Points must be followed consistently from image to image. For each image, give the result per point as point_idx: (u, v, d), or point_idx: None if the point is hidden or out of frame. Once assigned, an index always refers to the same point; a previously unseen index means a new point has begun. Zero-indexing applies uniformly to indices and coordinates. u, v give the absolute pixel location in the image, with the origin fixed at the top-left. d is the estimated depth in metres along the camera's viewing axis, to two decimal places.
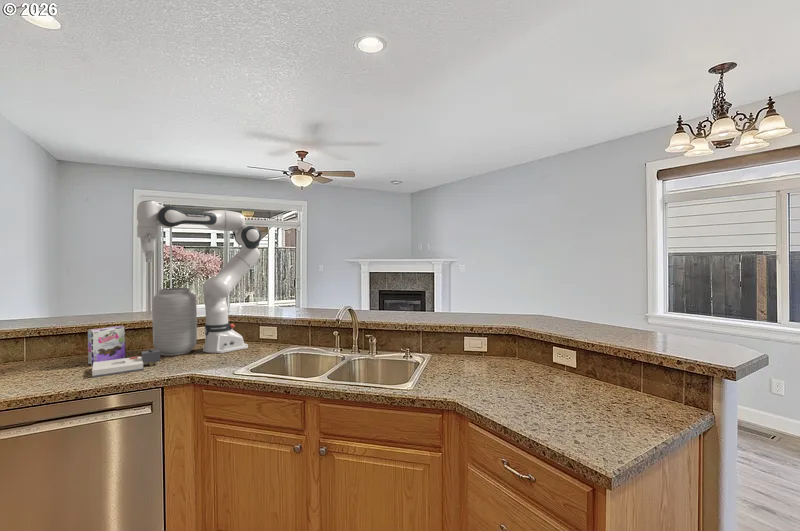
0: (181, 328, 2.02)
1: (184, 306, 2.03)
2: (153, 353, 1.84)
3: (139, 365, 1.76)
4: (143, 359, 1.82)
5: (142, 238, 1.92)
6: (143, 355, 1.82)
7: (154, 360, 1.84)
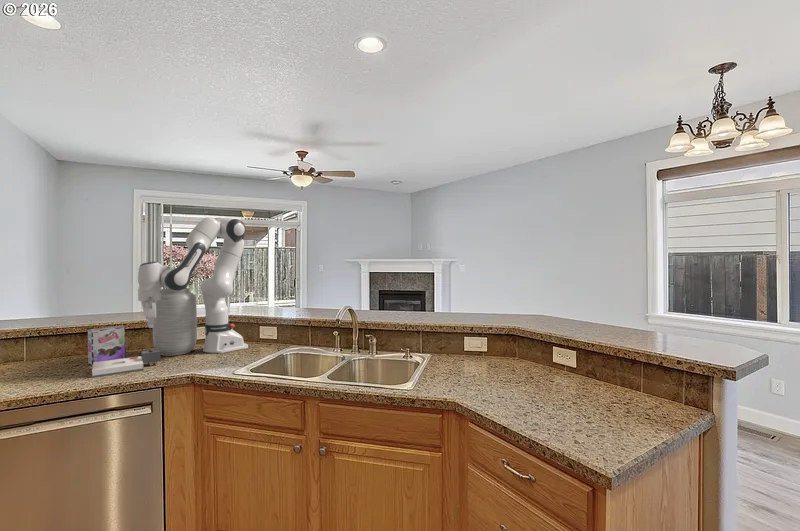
0: (181, 328, 2.02)
1: (184, 306, 2.03)
2: (153, 353, 1.84)
3: (139, 365, 1.76)
4: (143, 359, 1.82)
5: (143, 302, 1.82)
6: (143, 355, 1.82)
7: (154, 360, 1.84)
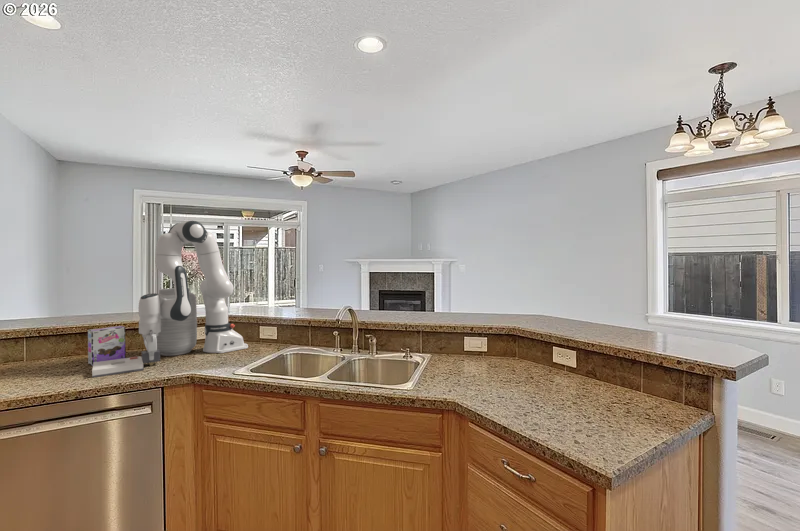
0: (181, 328, 2.02)
1: None
2: None
3: (139, 365, 1.76)
4: (143, 359, 1.82)
5: (144, 335, 1.82)
6: (143, 355, 1.82)
7: (154, 360, 1.84)
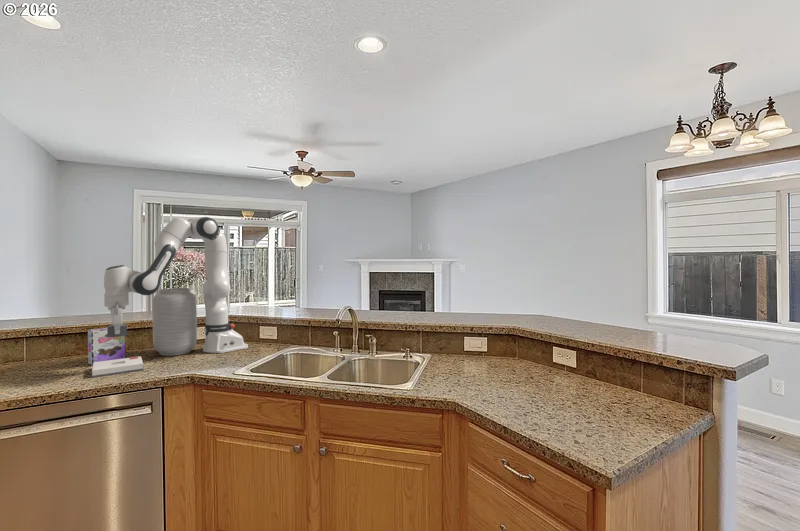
0: (181, 328, 2.02)
1: (184, 306, 2.03)
2: None
3: (139, 365, 1.76)
4: (108, 333, 1.74)
5: (110, 308, 1.75)
6: (108, 329, 1.74)
7: (120, 334, 1.76)
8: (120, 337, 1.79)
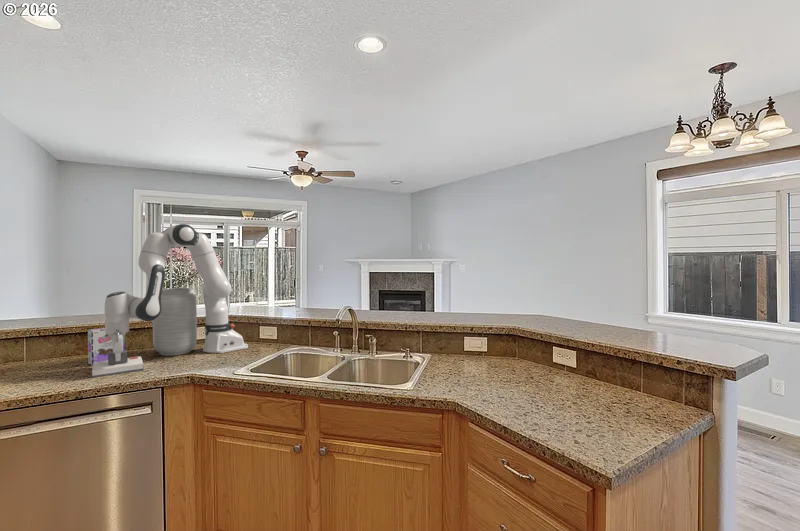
0: (181, 328, 2.02)
1: (184, 306, 2.03)
2: None
3: (139, 365, 1.76)
4: (109, 360, 1.74)
5: (110, 335, 1.75)
6: (109, 356, 1.74)
7: (121, 361, 1.77)
8: (121, 363, 1.79)
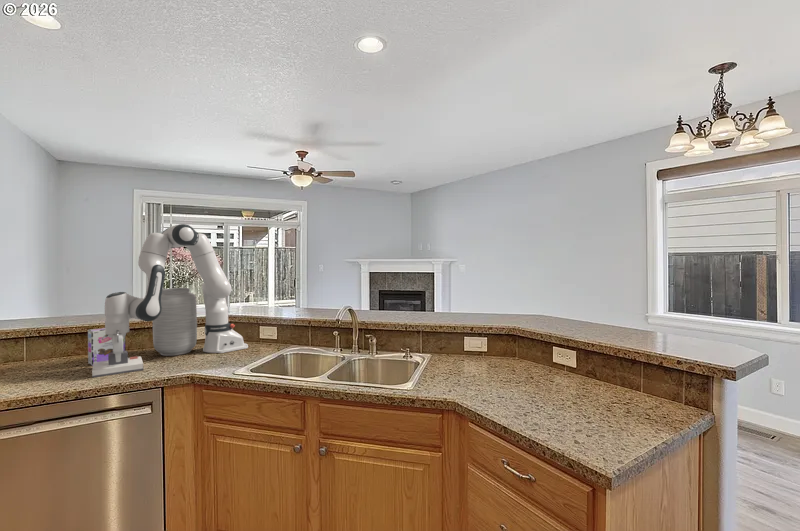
0: (181, 328, 2.02)
1: (184, 306, 2.03)
2: None
3: (139, 365, 1.76)
4: (109, 361, 1.74)
5: (110, 335, 1.75)
6: (109, 357, 1.74)
7: (121, 362, 1.77)
8: None
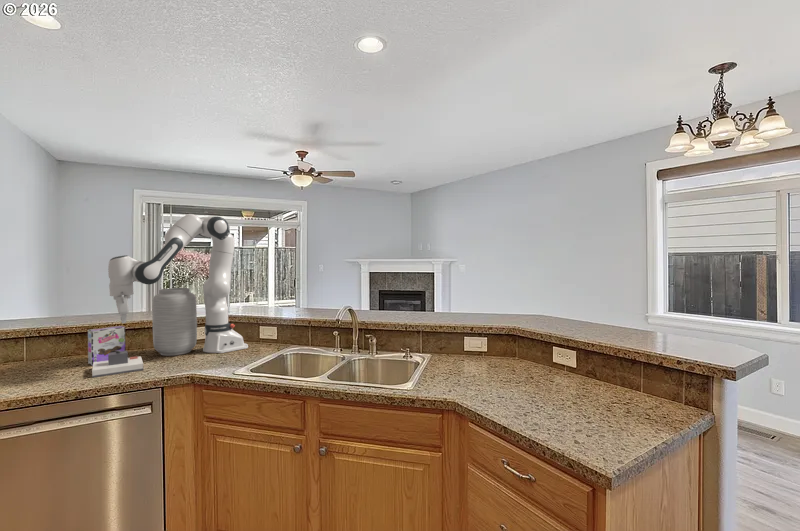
0: (181, 328, 2.02)
1: (184, 306, 2.03)
2: (120, 355, 1.77)
3: (139, 365, 1.76)
4: (109, 361, 1.74)
5: (115, 297, 1.78)
6: (109, 357, 1.74)
7: (121, 362, 1.77)
8: None
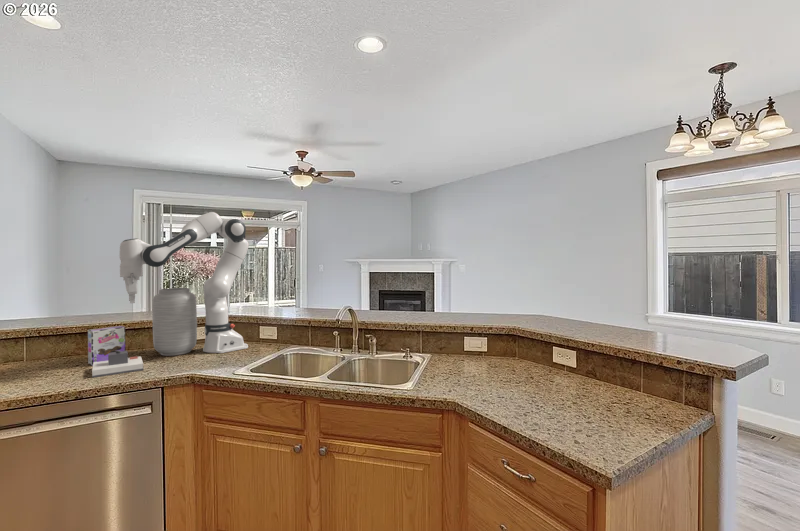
0: (181, 328, 2.02)
1: (184, 306, 2.03)
2: (120, 355, 1.77)
3: (139, 365, 1.76)
4: (109, 361, 1.74)
5: (125, 278, 1.84)
6: (109, 357, 1.74)
7: (121, 362, 1.77)
8: None
